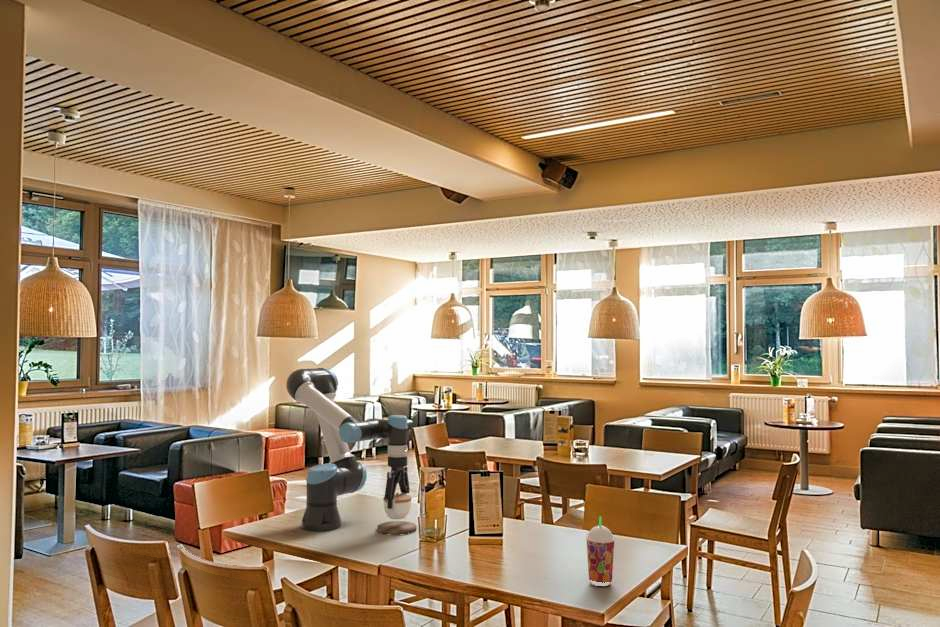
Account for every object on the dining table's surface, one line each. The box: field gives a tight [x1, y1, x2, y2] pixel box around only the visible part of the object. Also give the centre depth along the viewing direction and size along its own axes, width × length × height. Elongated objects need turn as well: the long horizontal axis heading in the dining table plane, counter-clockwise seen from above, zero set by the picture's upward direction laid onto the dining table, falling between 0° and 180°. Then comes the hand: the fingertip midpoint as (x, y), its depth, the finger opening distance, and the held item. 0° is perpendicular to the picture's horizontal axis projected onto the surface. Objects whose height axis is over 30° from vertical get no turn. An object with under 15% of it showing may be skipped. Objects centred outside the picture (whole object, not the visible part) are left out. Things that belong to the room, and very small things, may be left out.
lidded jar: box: [383, 492, 412, 520], centre depth 276 cm, size 11×11×9 cm
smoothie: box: [586, 516, 615, 583], centre depth 216 cm, size 8×8×20 cm
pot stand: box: [376, 520, 418, 536], centre depth 276 cm, size 15×15×2 cm
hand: (397, 513), depth 276 cm, fingers closed on lidded jar, 11 cm apart
